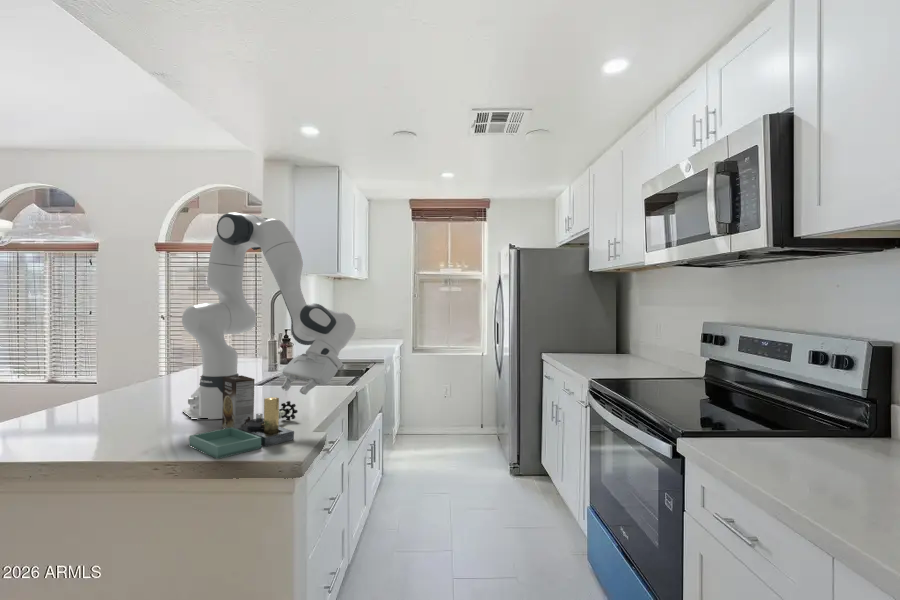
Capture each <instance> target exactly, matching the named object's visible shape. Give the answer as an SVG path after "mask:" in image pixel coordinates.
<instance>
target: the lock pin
mask: <svg viewBox="0 0 900 600" xmlns="http://www.w3.org/2000/svg"><path fill="white" fill-rule="evenodd" d="M279 409H280V398H279V397H275V396H274V397H273V396H272V397H265V398H264V399H263V418H264V434H267V435H270V434H274V433H279V427H280V426H279V425H280V419H279Z"/></svg>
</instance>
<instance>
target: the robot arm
mask: <svg viewBox="0 0 900 600" xmlns="http://www.w3.org/2000/svg"><path fill="white" fill-rule="evenodd" d="M216 233H217V234H216V235H215V237H214V238H213V242H212V245H211V248H210V253H209V259H208V267H207V268H208V270H207V279H206V283H207V286H208V287H209V289H211V291H213V292H215V293H217V296H218V303H205V302H203V303H197V304H194V305H190V306H188V307H186V309H184V312H183V313H182V316H181V322H182V323H181V324H182V326H183V329H184V330H185V332H186V333H188V334H189V335H190V336H192V337H193V338H194V340H195V341H196V342H197V344H198V346H199V348H200V351H201V356H202V357H201V358H202V375H201V376H199V377H200V378H199V386H198V388H197V389H196V390H195V391H194V392H193V393H192V394H191V396H190V397H189V398H187V404H188V405H189V407H187V408H184V409H182V412H183V411H184V412H185V413H187V414H188V415H189V416H190V417H191V418H208V419H207V420H220V419H221V420H222V410H223V377H227V376H240V375H239V373H238V352H237V350H236V348H234V347H232V346H230V345H229V344H227V342H226V340H225V339H226V338H225V335H237V334H242V333H247V332H249V331H252V330H253V328H254V327H255V325H256V321H257V314H256V312H255V310H254V308H253V307H252V306H251V305H250V304H249V303H248V301H247V300H246V297H245V293H244V289H243V288H244V287H243V281H244V280H243V278H244V277H243V276H244V265H245V256H246V253H247V251H248V250H250V249H251V250H253V251H257V250H261V251H262V254H263V256H264V258H265V261H266V263H267V265H268V267H269V269H270V271H271V273H272V275H273V277H274V279H275V282H276V283H277V286H278V288H279V290H280V294H281V296H282V298H283V301H284V304H285V307H286V309H287V311H288V313H289V316H290V320H291V321H290V322H291V329H290V330H291V335H292V337H293V339H294V340H295V341H296V342H297V343H299V344H300V345H303V346H309V347H308V348H307V349H306V351H305V353H302V354H300V355H296V356H294V357H293V358H292V359H291V360H290V361H289V362H288V363H287V364H286V366H285V367H284V368H283V370H282V372H281V373H282V374H283V375H284V377H285V379H284V383H283V384H282V385H281V389H282V390H283V391H289V389H290V388H291V384H292V383H293V382H294V381H299V382H304V383H307V384H305V385H302V386H301V387H300V389H299V393H301V395H307V394H308V393H309V392H310V391H311V390H312V389H314V388H315V387H316V386H317V385H319V386H326V385H327V384H329V383H330V382H331V380H333V378H334V377H335V376H336V374H337V373H338V370H339V369H341V368H342V367H343V364H344V363H343V362H342V361H341V360H340V358H339V355H340V352H341V351H342V350H343V349H344V348H345V347H346V346H347V345H348V343H349V342H350V341H351V339H352V337H353V336H354V333H355V332H356V326H357V325H356V323H355V319H354V318H353V317H351V315H350V314H348V313H347V312H345V311H334V310H332V309H329V308H326V307H325V306H323V305H322V304H319V303H308V304H307V302H306V300H305V297H304V294H303V292H302V287H301V280H302V278H301V276H302V271H303V265H304V264H303V258H302V253H301V250H300V247H299V246H298V243H297V242H296V240H295V237H294V236H293V234H292V232H291V231H290V229H289V228H288V227H287V226H286V224H285V222H283V220H280V219H278V218H266V217H261V216H259V215H256V214H251V213H250V214H247V213H246V214H245V213H239V212H227V213H225V214H223V215H221V216H220V217H219V219H218V221H217V224H216Z"/></svg>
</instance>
